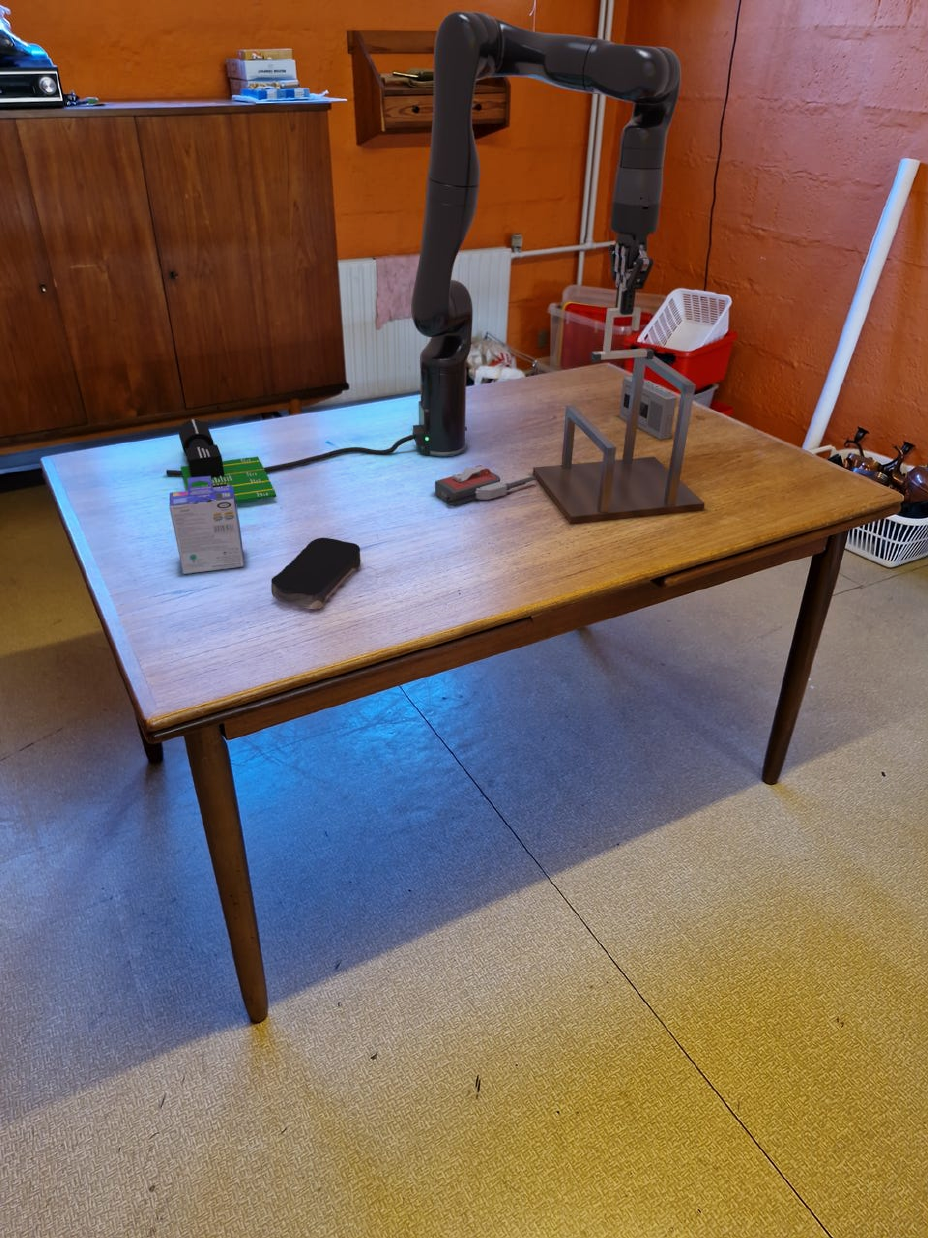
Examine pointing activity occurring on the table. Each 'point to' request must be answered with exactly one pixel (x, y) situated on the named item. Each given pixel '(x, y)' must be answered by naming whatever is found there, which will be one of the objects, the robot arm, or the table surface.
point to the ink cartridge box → (206, 527)
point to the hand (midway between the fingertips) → (623, 312)
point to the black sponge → (316, 572)
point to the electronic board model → (221, 465)
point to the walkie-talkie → (474, 486)
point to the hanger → (606, 353)
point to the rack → (622, 464)
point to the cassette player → (650, 408)
